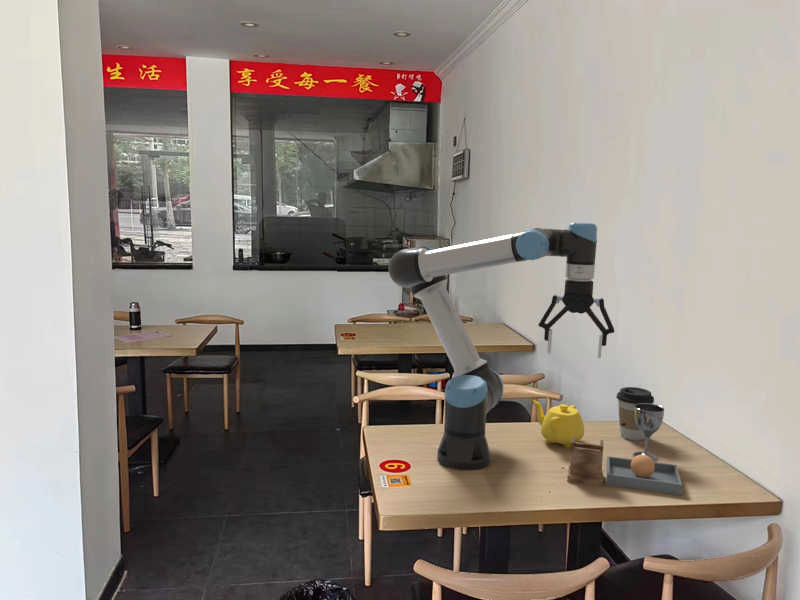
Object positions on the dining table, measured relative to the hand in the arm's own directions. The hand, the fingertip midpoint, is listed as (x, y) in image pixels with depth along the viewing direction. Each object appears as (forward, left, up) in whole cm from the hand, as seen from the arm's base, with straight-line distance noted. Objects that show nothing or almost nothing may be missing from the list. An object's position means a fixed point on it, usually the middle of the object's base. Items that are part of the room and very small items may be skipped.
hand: (573, 354), depth 174 cm
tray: (+20, -6, -31) cm, 37 cm away
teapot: (-4, +15, -32) cm, 35 cm away
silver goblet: (+22, +11, -31) cm, 40 cm away
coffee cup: (+19, +27, -31) cm, 46 cm away
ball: (+20, -6, -30) cm, 37 cm away
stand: (+5, -11, -31) cm, 33 cm away
